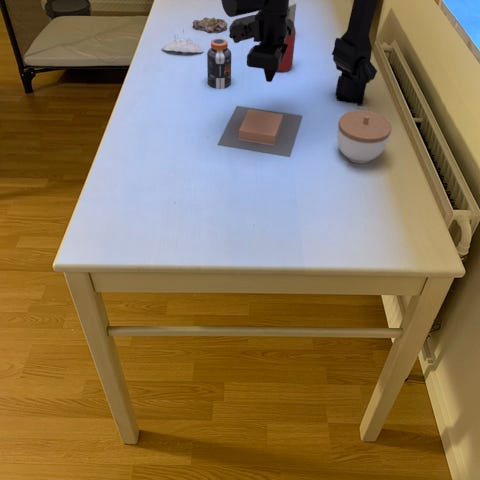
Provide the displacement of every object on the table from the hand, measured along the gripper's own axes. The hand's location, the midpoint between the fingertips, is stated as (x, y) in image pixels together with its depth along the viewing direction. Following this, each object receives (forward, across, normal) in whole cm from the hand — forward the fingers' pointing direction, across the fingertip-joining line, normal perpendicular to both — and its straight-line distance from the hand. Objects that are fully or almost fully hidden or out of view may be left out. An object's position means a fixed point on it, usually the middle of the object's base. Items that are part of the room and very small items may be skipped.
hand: (269, 81), depth 110 cm
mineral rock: (+12, -48, -28) cm, 57 cm away
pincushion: (+11, -31, -30) cm, 45 cm away
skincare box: (+11, -48, -5) cm, 50 cm away
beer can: (+11, -29, -2) cm, 31 cm away
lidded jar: (+11, +6, +22) cm, 25 cm away
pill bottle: (+11, -15, -15) cm, 24 cm away
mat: (+11, +3, 0) cm, 11 cm away
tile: (+9, -1, 0) cm, 9 cm away
